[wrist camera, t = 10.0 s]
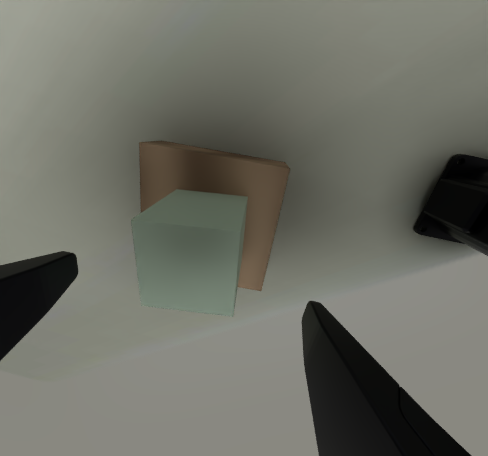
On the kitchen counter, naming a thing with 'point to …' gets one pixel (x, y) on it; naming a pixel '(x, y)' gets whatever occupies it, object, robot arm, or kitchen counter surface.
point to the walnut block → (221, 192)
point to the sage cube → (190, 251)
